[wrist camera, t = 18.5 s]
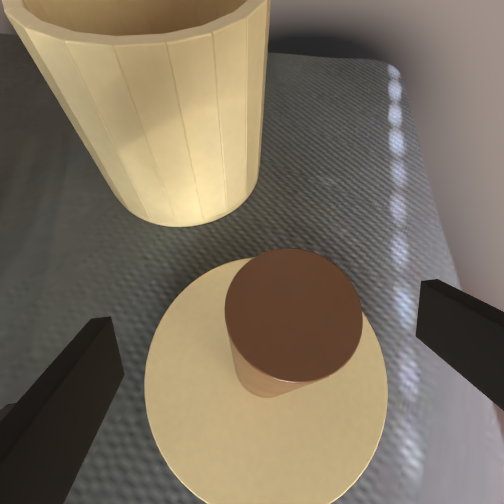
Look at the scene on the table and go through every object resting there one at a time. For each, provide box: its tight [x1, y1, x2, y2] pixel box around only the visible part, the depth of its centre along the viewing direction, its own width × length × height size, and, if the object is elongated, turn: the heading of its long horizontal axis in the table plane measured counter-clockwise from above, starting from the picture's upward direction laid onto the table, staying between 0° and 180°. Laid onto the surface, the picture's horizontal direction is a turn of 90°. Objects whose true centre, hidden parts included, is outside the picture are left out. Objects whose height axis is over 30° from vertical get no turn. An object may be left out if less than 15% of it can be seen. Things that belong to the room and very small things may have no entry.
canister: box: [2, 0, 271, 227], centre depth 19 cm, size 13×13×12 cm
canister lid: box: [144, 248, 388, 504], centre depth 12 cm, size 14×14×11 cm
